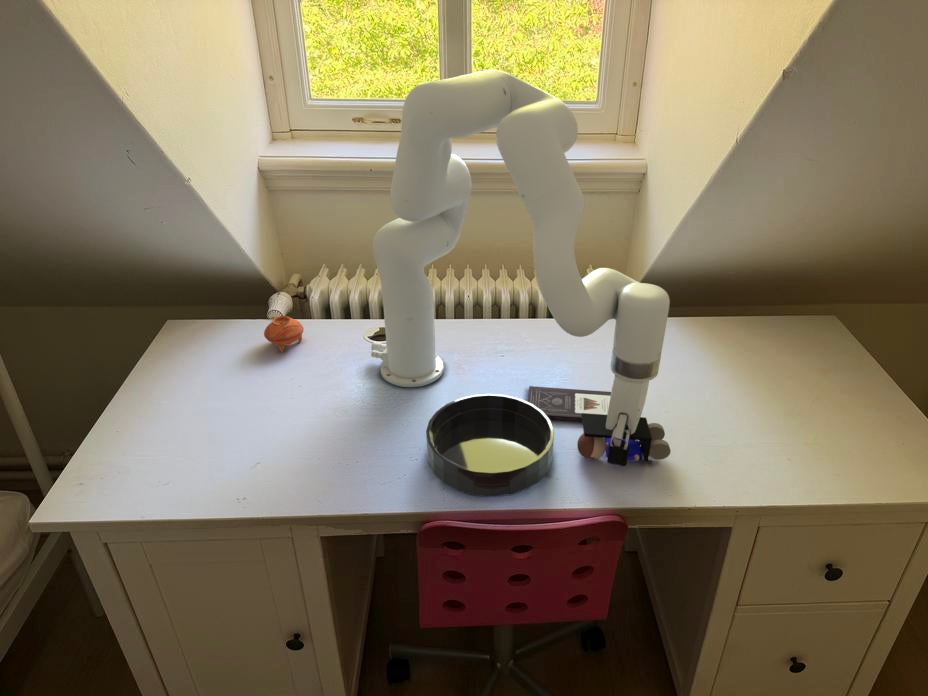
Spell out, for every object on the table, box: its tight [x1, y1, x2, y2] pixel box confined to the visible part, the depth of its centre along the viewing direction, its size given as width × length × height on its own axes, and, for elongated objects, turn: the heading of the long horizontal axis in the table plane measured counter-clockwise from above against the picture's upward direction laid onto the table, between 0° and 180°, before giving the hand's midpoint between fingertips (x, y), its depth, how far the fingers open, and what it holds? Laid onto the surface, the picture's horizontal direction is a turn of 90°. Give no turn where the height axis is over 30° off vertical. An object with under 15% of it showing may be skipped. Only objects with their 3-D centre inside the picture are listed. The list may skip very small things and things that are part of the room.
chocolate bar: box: [527, 385, 611, 423], centre depth 130 cm, size 9×1×18 cm
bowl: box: [425, 393, 555, 497], centre depth 117 cm, size 21×21×6 cm
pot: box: [263, 315, 305, 353], centre depth 144 cm, size 8×8×7 cm
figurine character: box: [576, 413, 671, 464], centre depth 117 cm, size 7×8×15 cm
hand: (622, 446), depth 118 cm, fingers open, 9 cm apart
